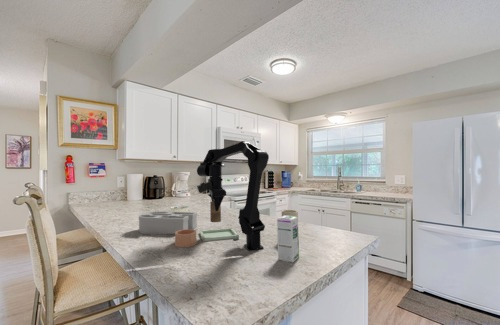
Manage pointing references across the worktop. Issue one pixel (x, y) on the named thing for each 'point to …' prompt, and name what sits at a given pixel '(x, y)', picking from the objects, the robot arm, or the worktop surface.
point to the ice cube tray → (166, 222)
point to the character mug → (290, 213)
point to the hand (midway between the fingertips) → (215, 209)
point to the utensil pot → (185, 238)
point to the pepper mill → (215, 213)
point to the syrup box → (288, 238)
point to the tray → (218, 234)
